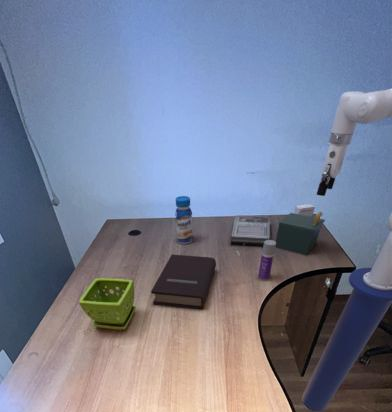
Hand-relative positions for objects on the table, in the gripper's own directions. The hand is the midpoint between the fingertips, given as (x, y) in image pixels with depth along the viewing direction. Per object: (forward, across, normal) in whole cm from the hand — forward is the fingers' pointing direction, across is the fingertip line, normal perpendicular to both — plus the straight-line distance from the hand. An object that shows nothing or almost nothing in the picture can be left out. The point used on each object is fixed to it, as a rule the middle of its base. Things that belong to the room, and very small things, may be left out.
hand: (324, 191), depth 108 cm
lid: (+14, +2, +6) cm, 15 cm away
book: (+25, -56, +30) cm, 68 cm away
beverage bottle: (+25, -23, +56) cm, 65 cm away
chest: (+25, +2, +6) cm, 26 cm away
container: (+25, -33, +7) cm, 42 cm away
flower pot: (+25, -87, +38) cm, 98 cm away
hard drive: (+25, +1, +31) cm, 40 cm away
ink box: (+25, +21, +11) cm, 34 cm away
